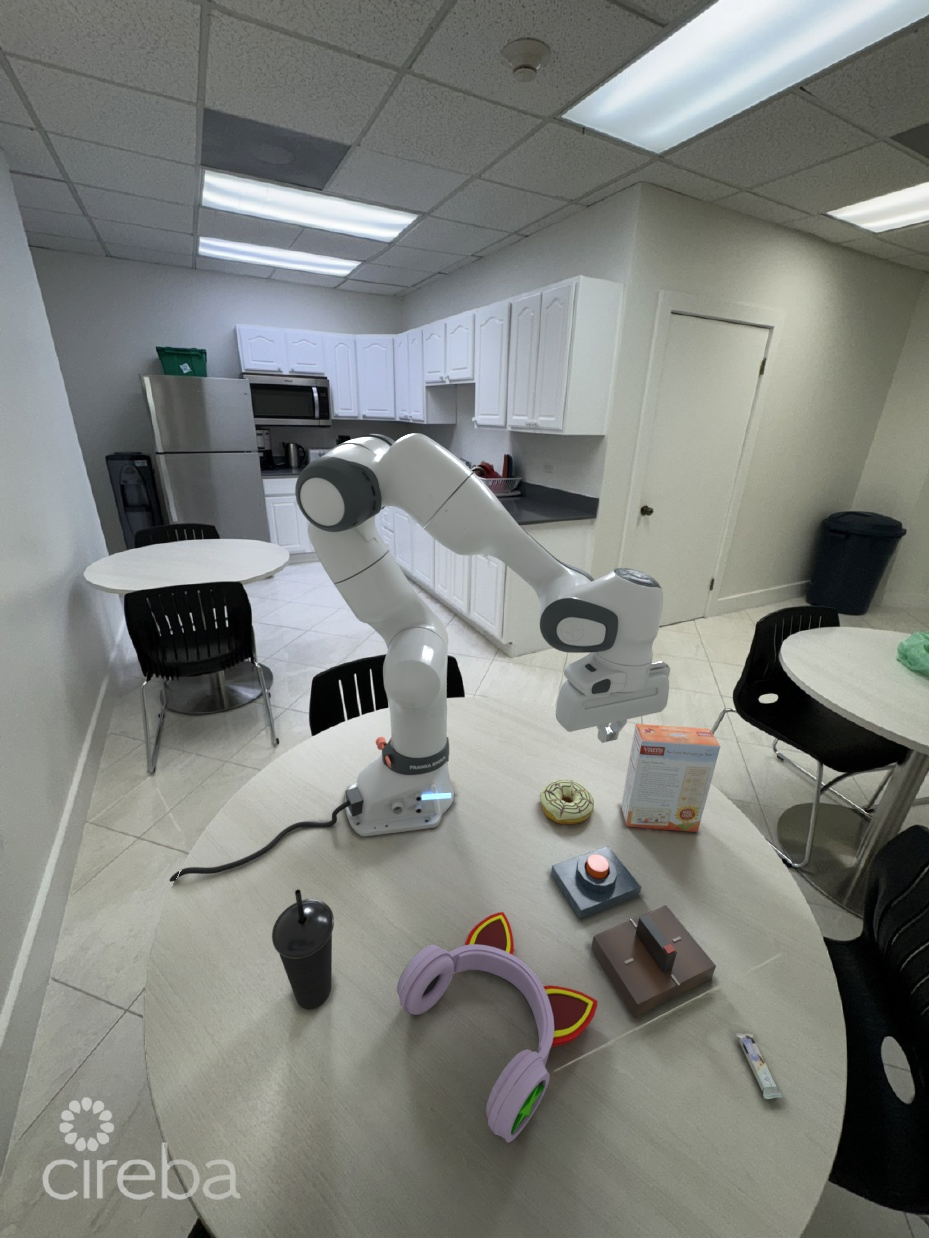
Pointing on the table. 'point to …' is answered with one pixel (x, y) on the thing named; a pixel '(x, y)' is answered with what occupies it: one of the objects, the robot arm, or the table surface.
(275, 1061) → the table surface
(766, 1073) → the granola bar
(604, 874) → the button
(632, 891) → the button box
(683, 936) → the panel
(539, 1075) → the headphones
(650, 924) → the handle
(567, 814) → the decorated donut
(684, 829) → the cracker box
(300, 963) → the drinking cup
